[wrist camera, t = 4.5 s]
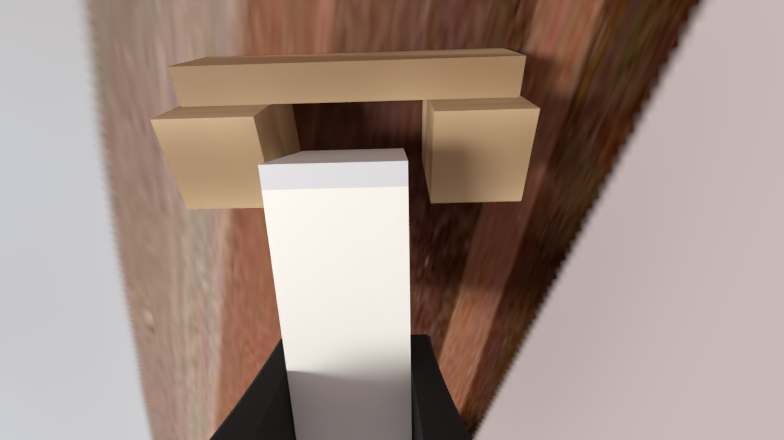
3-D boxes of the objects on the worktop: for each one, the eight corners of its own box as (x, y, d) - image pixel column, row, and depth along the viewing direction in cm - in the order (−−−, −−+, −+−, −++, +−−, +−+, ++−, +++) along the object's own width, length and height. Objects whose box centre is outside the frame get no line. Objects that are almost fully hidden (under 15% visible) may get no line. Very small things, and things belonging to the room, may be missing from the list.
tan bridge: (490, 156, 14) (521, 201, 11) (234, 163, 15) (187, 209, 11) (505, 47, 12) (549, 62, 9) (203, 57, 12) (131, 74, 9)
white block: (407, 356, 14) (411, 446, 10) (324, 358, 14) (297, 447, 10) (403, 148, 12) (407, 160, 8) (303, 150, 12) (257, 164, 8)
